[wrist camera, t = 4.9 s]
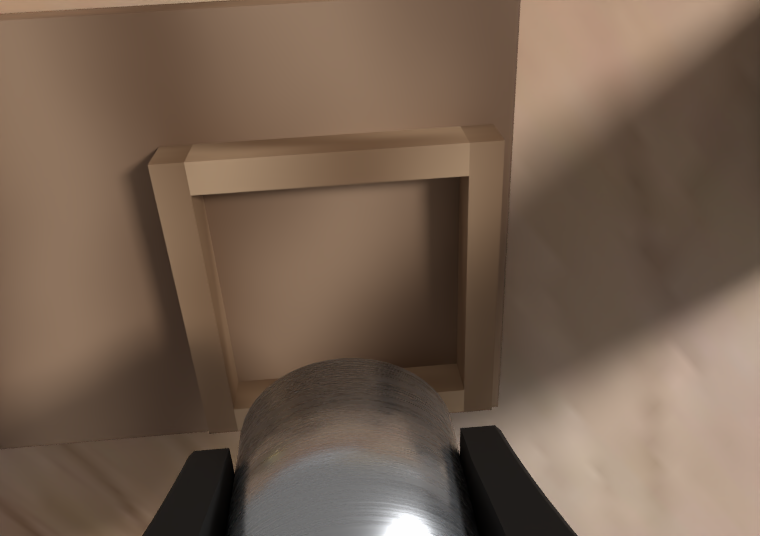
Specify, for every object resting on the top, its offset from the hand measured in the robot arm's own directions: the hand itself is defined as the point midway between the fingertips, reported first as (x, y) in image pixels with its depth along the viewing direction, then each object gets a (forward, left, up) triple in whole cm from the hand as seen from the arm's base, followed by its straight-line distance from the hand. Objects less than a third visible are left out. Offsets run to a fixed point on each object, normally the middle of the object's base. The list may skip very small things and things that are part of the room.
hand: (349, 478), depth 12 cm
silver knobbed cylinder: (0, 0, -1) cm, 1 cm away
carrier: (-5, +1, -8) cm, 9 cm away
